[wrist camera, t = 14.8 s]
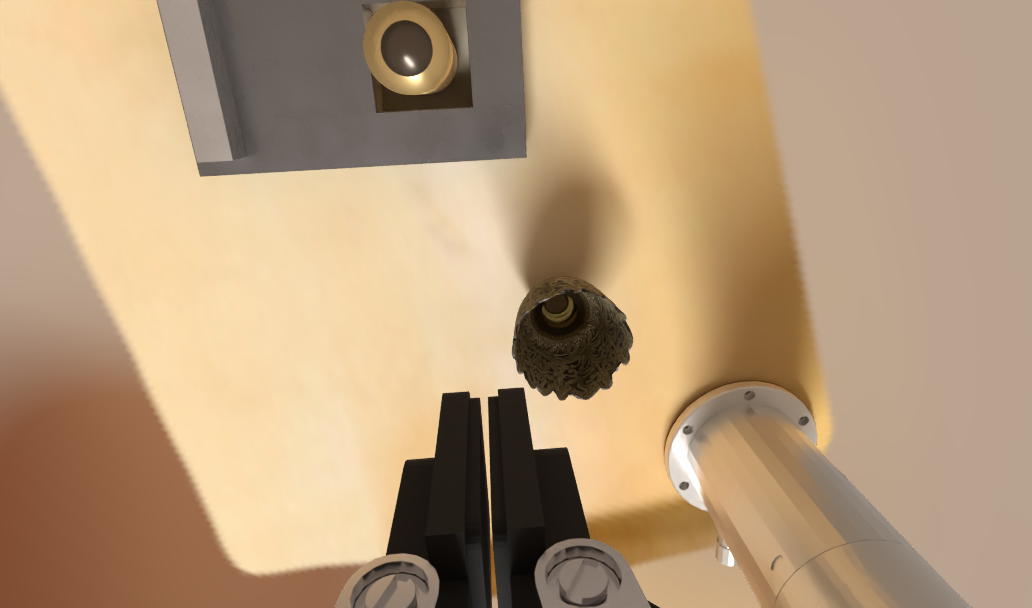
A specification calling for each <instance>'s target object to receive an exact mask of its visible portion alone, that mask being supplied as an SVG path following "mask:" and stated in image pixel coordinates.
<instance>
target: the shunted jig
mask: <svg viewBox="0 0 1032 608" xmlns="http://www.w3.org/2000/svg"><path fill="white" fill-rule="evenodd" d="M395 1H412V2H416V3H419V4H421V5H423V6H425V7H426V8H428V9H430V8H451V7H466V16H467V30H468V44H469V57H470V71H471V85H472V99H473V107H456V108H437V109H419V110H400V111H384V106H383V98H382V90H381V83H380V82H379V81H378V80H377V79H376V78H375V77H374V75H373V74H372V73H371V71H370V69H369V67H368V65H367V63H366V60H365V56H364V50H363V38H364V33H365V29H366V26H367V24H368V22H369V20H370V19H371V17H372V11H378V10H379V9H380V8H381V7H383V6H384V5H387V4H389V3H391V2H395ZM157 4H158V8H159V12H160V16H161V20H162V24H163V28H164V32H165V36H166V41H167V45H168V49H169V53H170V57H171V61H172V65H173V69H174V73H175V77H176V81H177V85H178V89H179V93H180V97H181V101H182V105H183V109H184V113H185V117H186V121H187V126H188V130H189V134H190V138H191V142H192V146H193V150H194V154H195V158H196V162H197V166H198V170H199V174H200V176H218V175H235V174H252V173H269V172H286V171H304V170H321V169H338V168H355V167H373V166H390V165H407V164H424V163H441V162H459V161H476V160H493V159H510V158H527V155H526V131H525V107H524V83H523V59H522V35H521V11H520V0H157Z"/></svg>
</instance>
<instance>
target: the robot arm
mask: <svg viewBox="0 0 1032 608" xmlns="http://www.w3.org/2000/svg"><path fill="white" fill-rule="evenodd" d="M488 413H489V447H490V481H491V515H492V536H493V550H494V562H495V574H496V586H497V599H498V608H659V607H658V606H656V605H654V604H653V603H651V602H649V601H648V600H647V599H646V597H645V595H644V593H643V591H642V589H641V588H640V585H639V584H638V581H637V580H636V578H635V576H634V574H633V572H632V570H631V568H630V566H629V564H628V563H627V561H626V560H625V559H624V557H623V556H622V555H621V554H620V553H619V552H618V551H616V550H615V549H614V548H612V547H611V546H609V545H607V544H604V543H602V542H600V541H597V540H591V539H590V536H589V532H588V528H587V524H586V520H585V516H584V512H583V508H582V504H581V500H580V496H579V492H578V488H577V484H576V480H575V476H574V472H573V468H572V464H571V460H570V456H569V452H568V449H567V448H566V447H565V448H552V449H539V450H533V445H532V438H531V432H530V425H529V419H528V412H527V405H526V399H525V392H524V387H523V388H509V389H498V396H495V397H488ZM664 457H665V467H666V470H667V473H668V476H669V478H670V480H671V482H672V484H673V486H674V488H675V489H676V491H677V492H678V493H679V495H680V496H681V497H682V498H683V499H685V500H686V501H687V502H688V503H690V504H691V505H693V506H695V507H697V508H699V509H701V510H704V511H708V512H709V514H710V515H711V517H712V519H713V521H714V523H715V529H716V530H717V532H718V533H719V535H718V537H717V545H716V555H715V556H716V559H717V561H719V562H720V563H721V564H723V565H726V566H735V565H738V567H739V569H740V570H741V572H742V574H743V576H744V578H745V579H746V581H747V583H748V585H749V587H750V589H751V590H752V592H753V594H754V596H755V598H756V599H757V601H758V603H759V605H760V607H761V608H972V607H971V606H970V605H969V604H968V603H967V602H966V601H965V600H964V599H963V598H962V597H961V596H960V595H959V594H958V593H957V592H956V591H955V590H954V589H953V588H952V587H951V586H950V585H949V584H948V583H947V582H946V581H945V580H944V579H943V578H942V577H941V576H940V575H939V574H938V573H937V572H936V571H935V570H934V569H933V568H932V567H931V565H930V564H929V563H928V562H927V561H926V560H925V559H924V558H923V557H922V556H921V555H920V554H919V553H918V552H917V551H916V550H915V549H914V548H913V547H912V546H911V545H910V544H909V543H908V541H906V539H905V538H904V537H903V536H902V535H901V534H900V533H899V532H898V531H897V530H896V529H895V528H894V527H893V526H892V525H891V524H890V523H889V522H888V521H887V519H885V517H884V516H883V515H881V513H880V512H879V511H878V510H877V509H876V508H875V507H874V506H873V505H872V504H871V503H870V502H869V501H868V500H867V499H866V497H865V496H864V495H863V494H862V493H861V492H860V491H859V490H858V489H857V488H856V487H855V486H854V485H853V484H852V483H851V482H850V481H849V480H848V479H847V478H846V476H845V475H844V474H843V473H842V472H841V471H840V470H839V469H838V468H837V467H836V466H835V465H834V464H833V463H832V462H831V461H830V460H829V459H828V458H827V457H826V455H825V454H824V453H823V452H822V451H821V450H820V449H819V448H818V447H817V430H816V425H815V422H814V419H813V417H812V415H811V413H810V411H809V410H808V409H807V408H806V406H805V405H804V404H803V403H802V402H801V401H800V400H799V399H798V398H797V397H796V396H795V395H794V394H792V393H791V392H789V391H787V390H786V389H784V388H782V387H779V386H777V385H774V384H771V383H765V382H759V381H746V382H737V383H732V384H728V385H725V386H722V387H719V388H717V389H714V390H712V391H710V392H708V393H706V394H705V395H703V396H701V397H699V398H698V399H697V400H696V401H694V402H693V403H692V404H691V405H689V406H688V407H687V408H686V409H685V411H684V412H683V413H682V414H681V415H680V416H679V417H678V419H677V420H676V422H675V423H674V425H673V427H672V428H671V430H670V433H669V436H668V438H667V441H666V446H665V452H664ZM334 608H492V594H491V554H490V516H489V500H488V488H487V476H486V464H485V452H484V440H483V428H482V416H481V404H480V398H470V393H469V392H455V393H443V395H442V402H441V411H440V419H439V427H438V435H437V444H436V452H435V458H425V459H412V460H406V461H405V464H404V468H403V473H402V478H401V483H400V488H399V493H398V498H397V503H396V508H395V513H394V518H393V523H392V528H391V533H390V538H389V543H388V548H387V553H386V556H383V557H380V558H377V559H374V560H373V561H371V562H369V563H368V564H366V565H364V566H362V567H361V568H360V569H359V570H358V571H357V572H356V573H355V574H353V575H352V576H351V578H350V579H349V580H348V582H347V583H346V585H345V587H344V588H343V590H342V592H341V594H340V597H339V599H338V601H337V603H336V605H335V607H334Z"/></svg>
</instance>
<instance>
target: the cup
mask: <svg viewBox="0 0 1032 608" xmlns="http://www.w3.org/2000/svg"><path fill="white" fill-rule="evenodd" d="M556 295H564V296H565V297H566V299H567V307H566V309H565V310H564V311H563V312H561V313H558V314H554V313H551V312H550V311H548V309H547V308H546V301H547V300H548V299H550V298H551V297H553V296H556ZM626 319H627V318H626V316H625V314H624V313H623V312H622V311H620V310H619V309H618V308H617V307H616V305H615V304H614V303H613V302H612V301H611V300H610V299H608V298H607V297H606V296H605V295H604V294H603V293H602V292H601V291H599V290H598V289H597V288H595V287H594V286H593V285H591V284H589V283H587V282H585V281H583V280H580V279H577V278H572V277H556V278H552V279H549V280H546V281H544V282H542V283H540V284H538V285H537V286H536V287H534V288H533V289H532V290H531V291H530V292H529V293H528V294H527V296H526V297H525V298H524V300H523V302H522V303H521V306H520V308H519V311H518V314H517V318H516V323H515V330H514V338H513V346H512V356H513V358H514V359H515V360H516V364H517V371H518V373H519V374H523V372H524V376H525V379H526V380H527V381H528V384H529V385H530V387H531V388H532V389H535V388H536V387H537V390H538V391H539V392H540V393H541V394H542V395H543V396H548V395H549V394H551V393H552V391H554V392H555V393H556V395H557V397H558V398H559V400H565V399H566V398H567V397H568V395H573V396H575V397H576V398H578V399H583V400H587V399H589V398H591V397H592V396H594V394H595V393H596V392H597V391H598V390H599V389H600V388H601V389H603V390H606V389H609V388H610V387H611V386H612V384H613V382H612V380H611V379H612V374H613V373H614V372H615V371H617V370H618V367H619V365H620V364H621V363H622V364H624V365H627V364H628V362H629V360H630V355H629V349H631V347H632V344H633V336H632V333H631V330H630V328H629V326H628V324H627V323H626Z"/></svg>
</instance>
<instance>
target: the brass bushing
mask: <svg viewBox="0 0 1032 608" xmlns="http://www.w3.org/2000/svg"><path fill="white" fill-rule="evenodd" d="M363 50H364V56H365V60H366V63H367V65H368V67H369V69H370V71H371V73H372V74H373V75H374V77H375V78H376V79H377V80H378V81H379V82H380V83H381V84H382V85H383V86H385V87H386V88H388V89H389V90H392V91H394V92H396V93H400V94H405V95H417V94H433V93H437V92H439V91H441V90H443V89H444V88H446V87H447V86H448V85H449V84H450V83H451V81H452V80H453V78H454V76H455V73H456V70H457V53H456V50H455V47H454V45H453V43H452V41H451V39H450V37H449V35H448V33H447V32H446V30H445V28H444V26H443V24H442V23H441V21H440V20H439V18H438V17H437V16H436V15H435V14H434V13H433V12H432V11H431V10H429V9H428V8H426V7H425V6H423V5H421V4H419V3H416V2H412V1H395V2H391V3H389V4H387V5H384V6H383V7H381V8H380V9H379V10H378V11H376V12H375V14H374V15H373V16H372V17H371V19H370V20H369V22H368V24H367V26H366V29H365V33H364V38H363Z"/></svg>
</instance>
